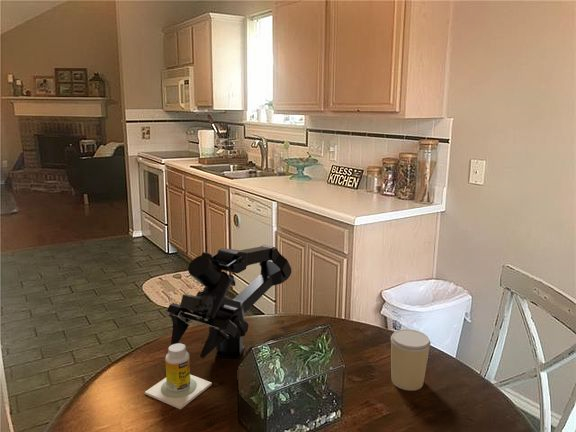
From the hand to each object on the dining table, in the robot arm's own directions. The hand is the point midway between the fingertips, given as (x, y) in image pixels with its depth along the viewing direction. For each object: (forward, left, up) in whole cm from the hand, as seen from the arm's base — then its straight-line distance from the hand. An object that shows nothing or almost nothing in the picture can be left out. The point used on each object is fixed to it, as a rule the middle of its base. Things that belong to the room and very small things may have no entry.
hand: (186, 352), depth 113 cm
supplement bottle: (+1, +3, -8) cm, 8 cm away
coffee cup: (-53, -11, -8) cm, 55 cm away
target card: (+1, +3, -8) cm, 9 cm away
